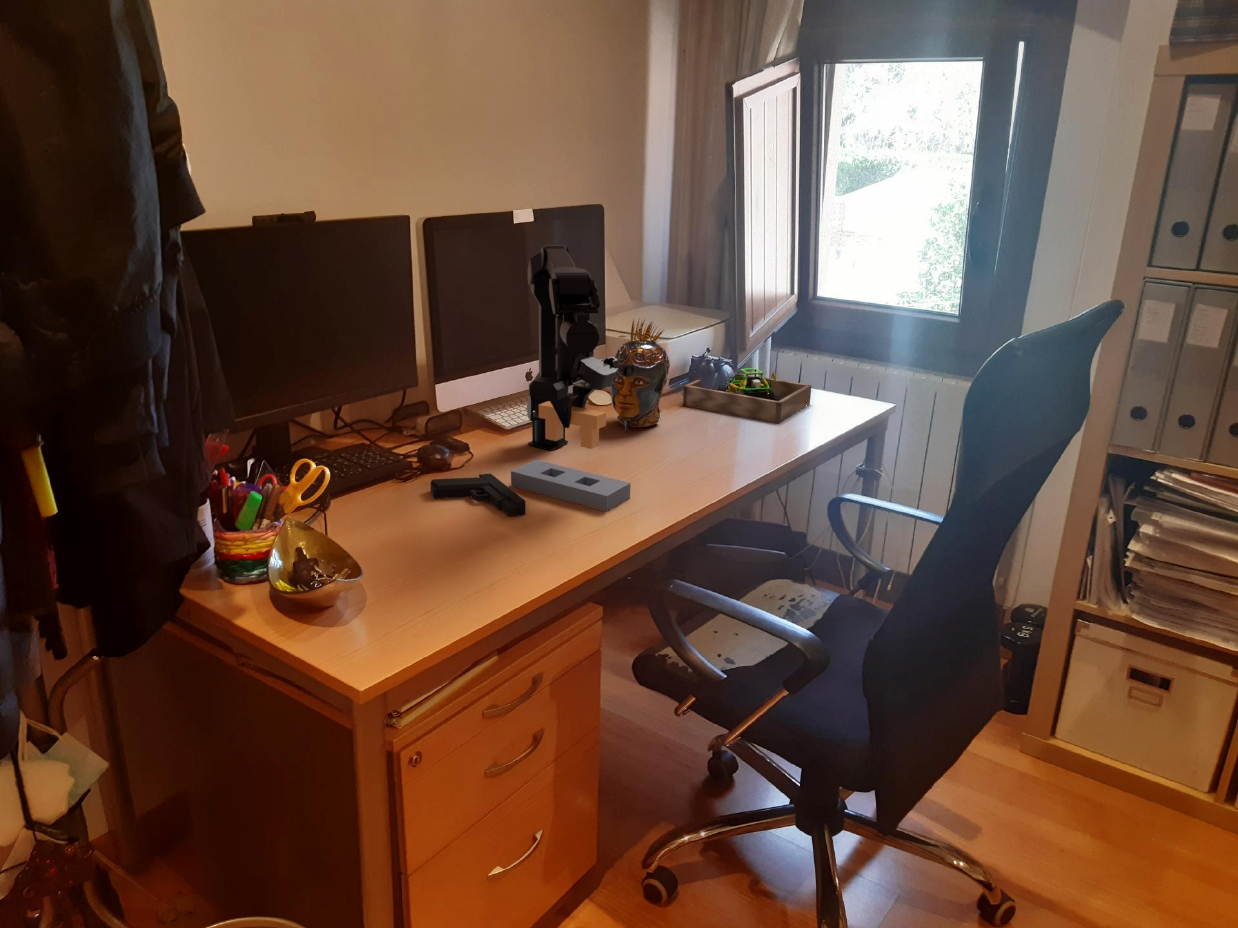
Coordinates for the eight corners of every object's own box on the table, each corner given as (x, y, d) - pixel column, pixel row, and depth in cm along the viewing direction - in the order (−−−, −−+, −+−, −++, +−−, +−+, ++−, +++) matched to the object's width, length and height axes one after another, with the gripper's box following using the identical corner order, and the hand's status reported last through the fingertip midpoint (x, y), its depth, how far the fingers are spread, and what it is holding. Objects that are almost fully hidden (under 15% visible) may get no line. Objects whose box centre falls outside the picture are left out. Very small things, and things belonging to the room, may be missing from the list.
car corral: (683, 404, 231) (683, 385, 229) (718, 388, 247) (719, 370, 245) (778, 423, 218) (780, 402, 216) (809, 404, 234) (811, 385, 232)
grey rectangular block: (511, 485, 176) (510, 471, 175) (536, 473, 182) (536, 459, 181) (606, 511, 165) (607, 496, 164) (630, 497, 171) (630, 482, 170)
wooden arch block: (539, 437, 172) (538, 404, 170) (548, 434, 174) (548, 401, 172) (596, 450, 166) (597, 416, 163) (605, 446, 168) (606, 412, 166)
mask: (596, 432, 208) (598, 323, 200) (631, 408, 227) (633, 308, 218) (647, 439, 204) (650, 329, 195) (678, 415, 222) (682, 313, 214)
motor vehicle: (755, 393, 241) (758, 354, 238) (784, 414, 224) (787, 372, 220) (714, 395, 239) (716, 356, 235) (739, 417, 221) (742, 374, 217)
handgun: (463, 514, 156) (527, 502, 162) (425, 479, 171) (484, 468, 177) (464, 530, 157) (527, 517, 163) (426, 493, 172) (485, 482, 178)
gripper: (579, 358, 152) (579, 446, 158) (636, 339, 167) (634, 421, 173) (526, 349, 158) (527, 435, 163) (586, 332, 173) (585, 411, 178)
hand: (571, 425), depth 169 cm, fingers closed on wooden arch block, 3 cm apart
